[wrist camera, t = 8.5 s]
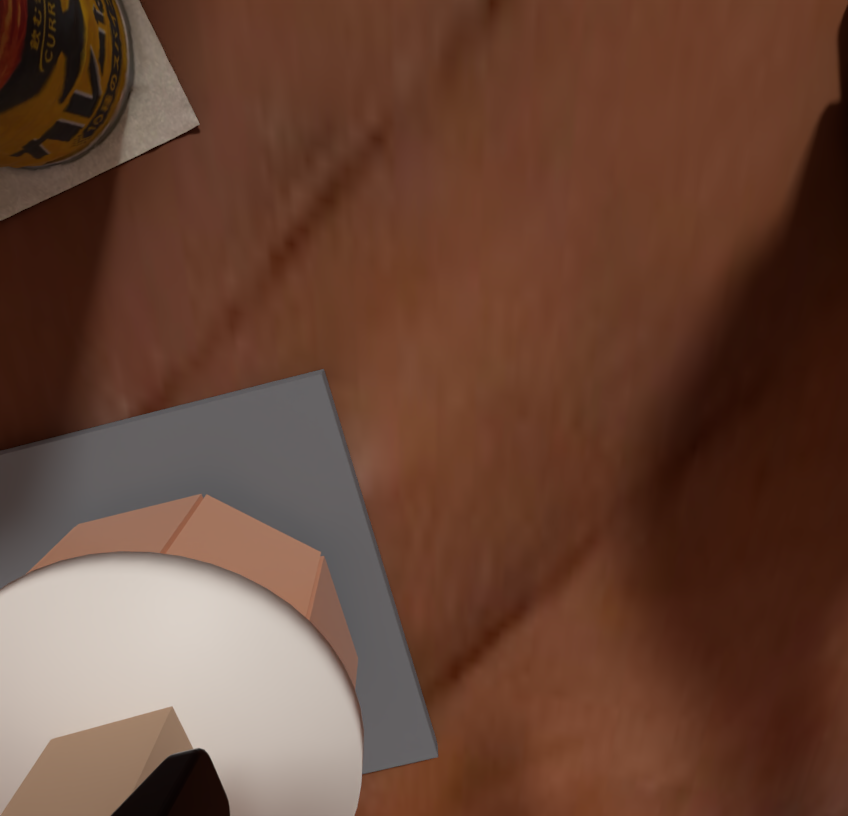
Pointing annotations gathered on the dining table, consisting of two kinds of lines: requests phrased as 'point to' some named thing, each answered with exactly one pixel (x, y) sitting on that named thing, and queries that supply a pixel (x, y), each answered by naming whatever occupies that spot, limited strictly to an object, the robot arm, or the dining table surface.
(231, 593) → the lid
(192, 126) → the condiment
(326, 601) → the bowl
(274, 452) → the mat
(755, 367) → the dining table surface
